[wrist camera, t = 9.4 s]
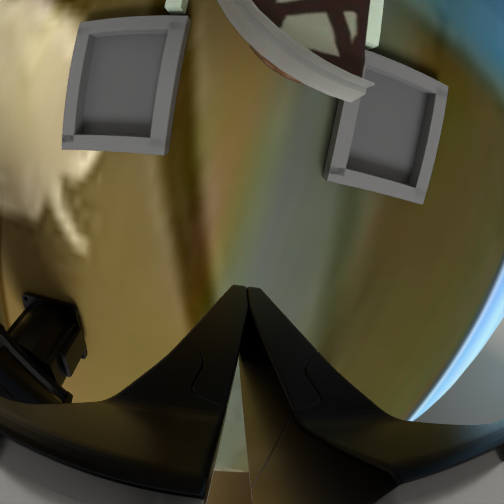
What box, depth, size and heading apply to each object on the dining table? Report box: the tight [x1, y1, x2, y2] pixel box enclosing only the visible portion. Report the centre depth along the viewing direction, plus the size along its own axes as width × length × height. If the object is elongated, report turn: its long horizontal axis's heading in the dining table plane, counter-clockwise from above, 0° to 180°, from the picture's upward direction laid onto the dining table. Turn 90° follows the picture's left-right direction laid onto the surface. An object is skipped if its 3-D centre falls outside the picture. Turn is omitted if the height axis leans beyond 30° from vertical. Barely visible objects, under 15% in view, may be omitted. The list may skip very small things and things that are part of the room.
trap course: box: [62, 0, 448, 205], centre depth 13 cm, size 25×22×2 cm
